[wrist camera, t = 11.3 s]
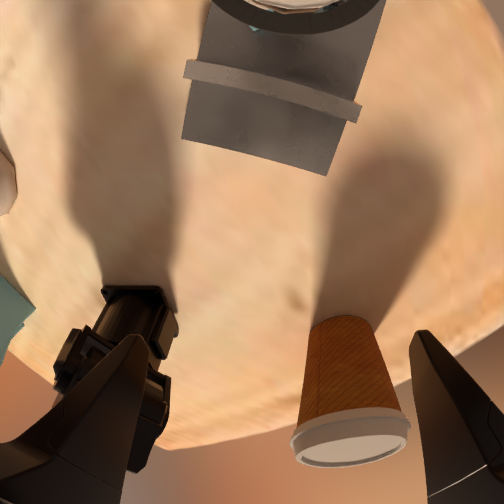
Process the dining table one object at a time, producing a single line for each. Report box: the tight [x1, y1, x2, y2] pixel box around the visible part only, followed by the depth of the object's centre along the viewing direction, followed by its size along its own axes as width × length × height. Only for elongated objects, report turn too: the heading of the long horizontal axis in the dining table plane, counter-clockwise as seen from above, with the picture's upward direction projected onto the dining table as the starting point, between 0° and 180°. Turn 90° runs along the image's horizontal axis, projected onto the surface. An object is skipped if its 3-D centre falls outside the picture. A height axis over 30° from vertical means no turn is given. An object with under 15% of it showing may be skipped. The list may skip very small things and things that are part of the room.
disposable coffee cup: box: [290, 316, 411, 468], centre depth 24 cm, size 10×10×12 cm
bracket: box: [181, 0, 386, 176], centre depth 13 cm, size 16×9×3 cm, turn 166°
